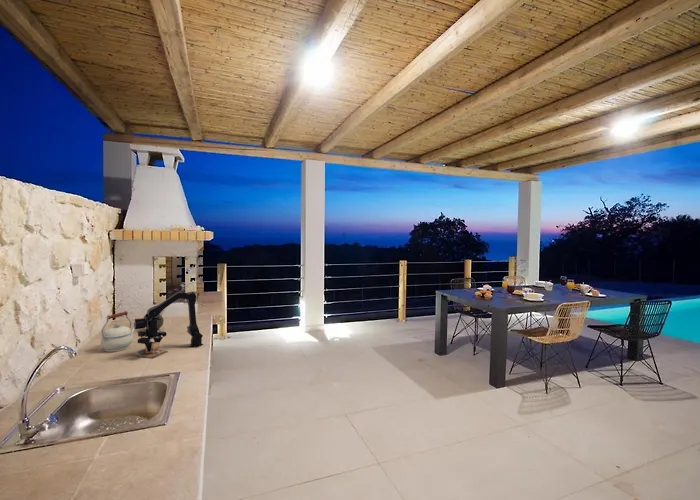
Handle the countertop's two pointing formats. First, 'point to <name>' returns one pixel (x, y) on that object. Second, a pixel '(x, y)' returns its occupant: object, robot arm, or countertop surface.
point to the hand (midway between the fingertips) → (152, 349)
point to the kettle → (117, 335)
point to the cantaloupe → (160, 322)
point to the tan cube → (153, 348)
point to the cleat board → (148, 355)
